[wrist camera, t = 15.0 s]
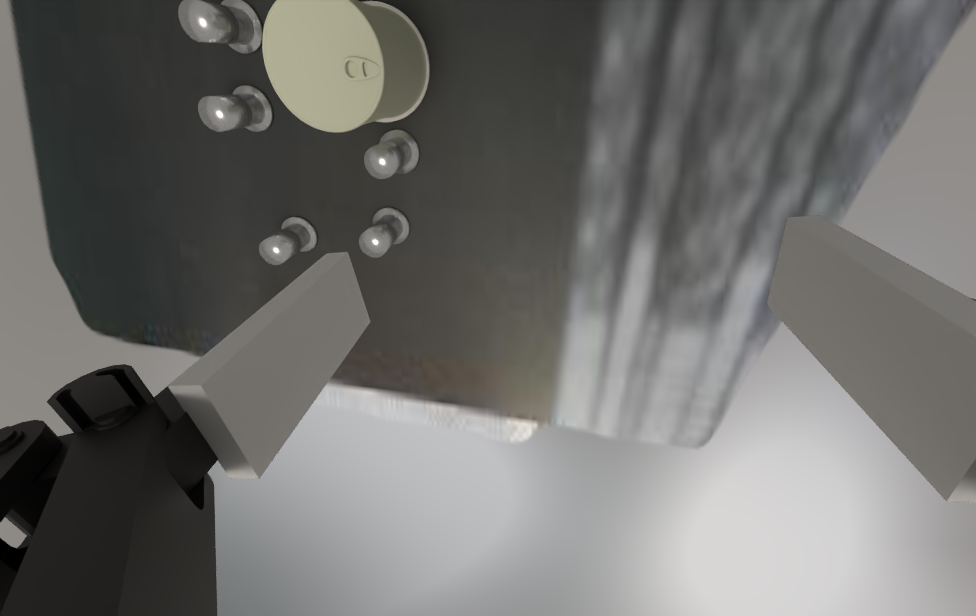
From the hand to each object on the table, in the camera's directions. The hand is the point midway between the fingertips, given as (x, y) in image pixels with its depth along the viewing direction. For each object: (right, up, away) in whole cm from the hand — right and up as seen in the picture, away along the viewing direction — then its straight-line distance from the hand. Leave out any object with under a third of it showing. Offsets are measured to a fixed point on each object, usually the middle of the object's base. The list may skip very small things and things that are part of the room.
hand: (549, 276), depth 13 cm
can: (-12, +22, +26) cm, 37 cm away
